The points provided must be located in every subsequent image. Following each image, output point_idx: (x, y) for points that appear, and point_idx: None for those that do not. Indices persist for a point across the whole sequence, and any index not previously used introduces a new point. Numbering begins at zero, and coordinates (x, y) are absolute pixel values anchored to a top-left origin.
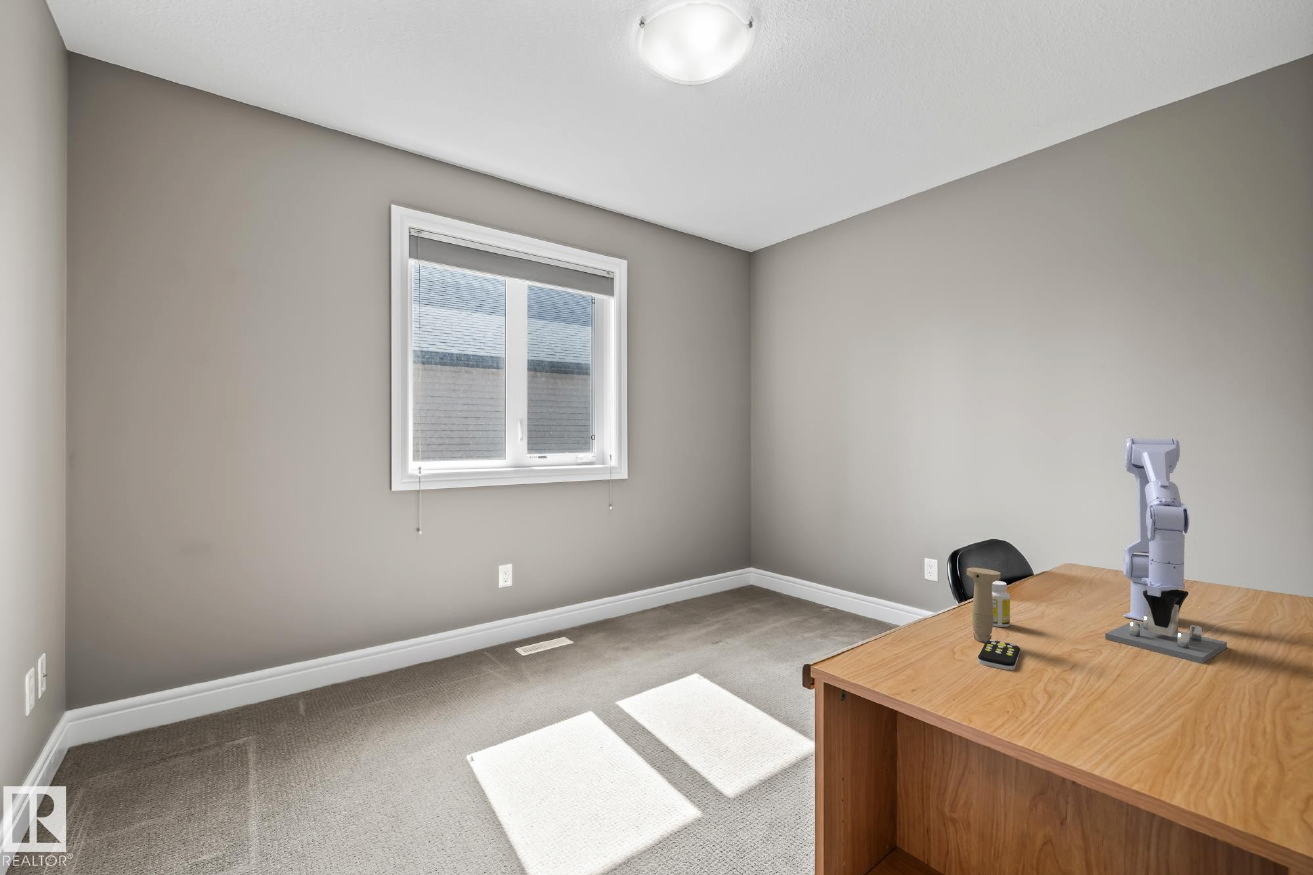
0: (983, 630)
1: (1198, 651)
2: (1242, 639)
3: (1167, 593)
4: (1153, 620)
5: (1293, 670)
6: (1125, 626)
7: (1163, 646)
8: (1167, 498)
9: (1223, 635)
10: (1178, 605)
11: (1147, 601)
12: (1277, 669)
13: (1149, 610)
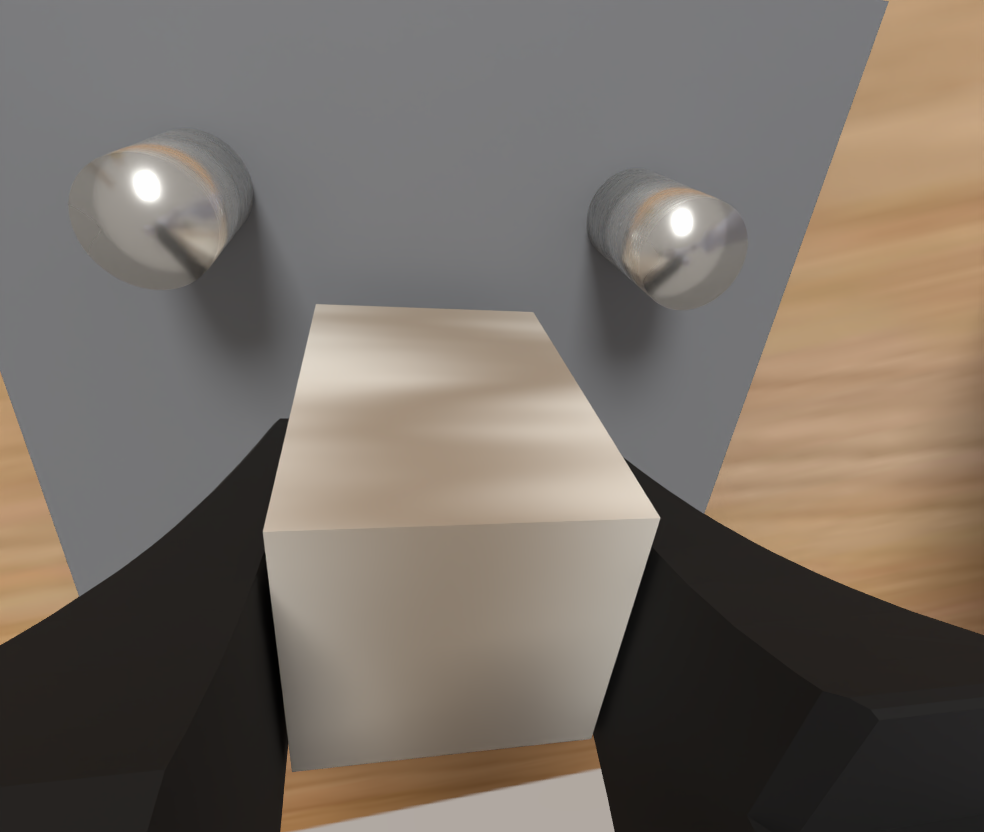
0: None
1: None
2: (900, 579)
3: (709, 825)
4: (267, 436)
5: (466, 781)
6: None
7: (85, 458)
8: None
9: (937, 515)
10: (578, 738)
11: (2, 646)
12: (418, 761)
13: (285, 458)
